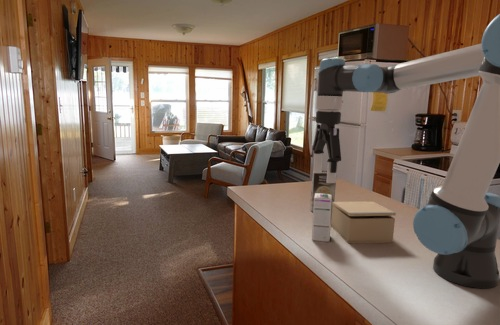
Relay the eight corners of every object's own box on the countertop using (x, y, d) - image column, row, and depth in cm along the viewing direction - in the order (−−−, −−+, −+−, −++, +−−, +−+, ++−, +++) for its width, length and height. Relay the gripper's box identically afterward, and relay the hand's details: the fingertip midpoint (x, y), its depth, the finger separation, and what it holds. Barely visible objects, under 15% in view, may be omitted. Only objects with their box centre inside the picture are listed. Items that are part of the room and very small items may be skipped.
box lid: (395, 215, 115) (395, 212, 115) (350, 216, 113) (350, 213, 113) (372, 203, 131) (372, 201, 131) (332, 204, 129) (332, 201, 129)
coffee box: (311, 211, 146) (313, 173, 143) (310, 207, 152) (312, 169, 149) (334, 213, 145) (336, 174, 142) (332, 208, 151) (334, 170, 148)
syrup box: (329, 242, 115) (332, 198, 113) (311, 240, 117) (313, 197, 114) (329, 235, 121) (332, 193, 118) (311, 233, 122) (314, 192, 119)
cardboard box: (392, 242, 117) (394, 218, 115) (348, 243, 115) (350, 219, 113) (370, 224, 132) (372, 203, 131) (331, 225, 130) (332, 204, 129)
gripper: (357, 113, 100) (350, 187, 104) (327, 109, 124) (322, 169, 128) (330, 112, 99) (325, 187, 103) (305, 108, 123) (302, 169, 127)
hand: (323, 177), depth 115 cm, fingers open, 13 cm apart
